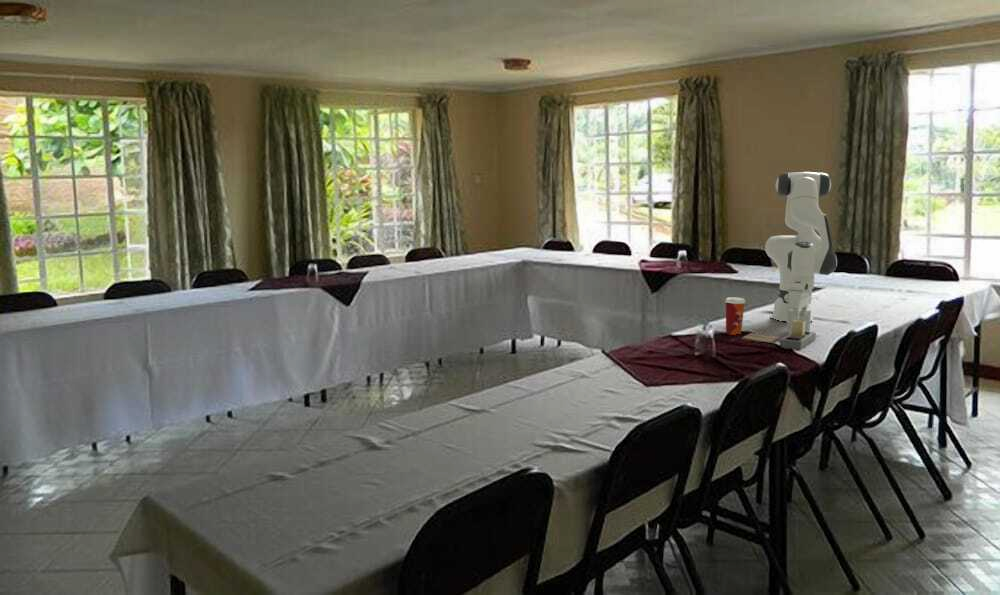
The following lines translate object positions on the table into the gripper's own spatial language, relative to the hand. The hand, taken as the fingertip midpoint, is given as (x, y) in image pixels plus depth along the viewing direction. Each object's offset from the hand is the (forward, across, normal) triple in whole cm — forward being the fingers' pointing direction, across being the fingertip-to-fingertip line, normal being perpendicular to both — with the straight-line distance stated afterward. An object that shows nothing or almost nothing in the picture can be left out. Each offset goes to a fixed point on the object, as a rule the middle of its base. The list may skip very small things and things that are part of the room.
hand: (799, 318), depth 307 cm
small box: (+10, -19, -5) cm, 22 cm away
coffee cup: (+10, -3, -27) cm, 29 cm away
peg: (+10, 0, 0) cm, 10 cm away
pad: (+10, +2, -14) cm, 17 cm away
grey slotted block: (+10, 0, 0) cm, 10 cm away
